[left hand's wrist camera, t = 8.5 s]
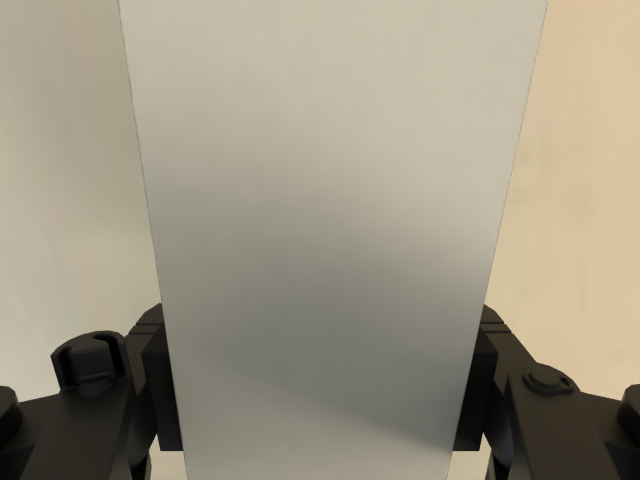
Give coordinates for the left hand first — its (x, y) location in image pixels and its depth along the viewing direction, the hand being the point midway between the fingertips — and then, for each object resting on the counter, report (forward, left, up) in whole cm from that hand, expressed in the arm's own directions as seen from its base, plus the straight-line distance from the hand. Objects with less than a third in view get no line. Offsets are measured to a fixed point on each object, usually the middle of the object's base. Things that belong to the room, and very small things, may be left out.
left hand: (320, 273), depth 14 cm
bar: (+17, -19, -1) cm, 25 cm away
